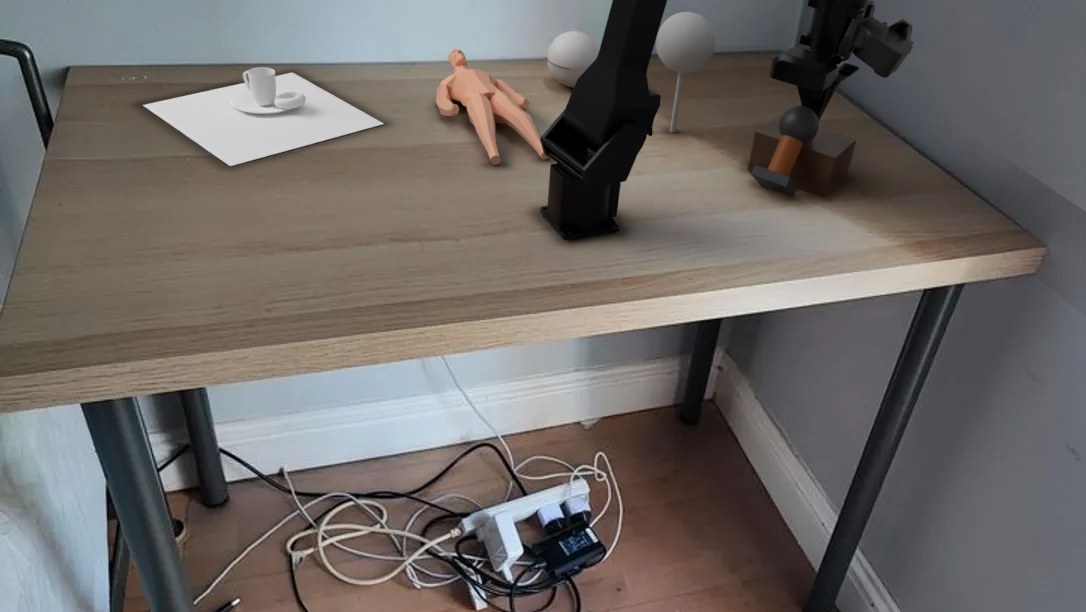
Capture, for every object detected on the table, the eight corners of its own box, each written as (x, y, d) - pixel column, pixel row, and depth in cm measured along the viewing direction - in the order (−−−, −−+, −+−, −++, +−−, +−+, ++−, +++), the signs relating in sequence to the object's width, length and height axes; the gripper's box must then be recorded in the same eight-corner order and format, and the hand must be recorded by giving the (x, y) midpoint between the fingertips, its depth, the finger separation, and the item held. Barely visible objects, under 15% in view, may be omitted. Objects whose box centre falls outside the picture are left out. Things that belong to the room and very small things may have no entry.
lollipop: (700, 124, 124) (719, 8, 115) (699, 146, 118) (720, 26, 109) (646, 117, 124) (661, 0, 115) (643, 139, 118) (658, 18, 109)
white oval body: (535, 78, 131) (538, 25, 127) (581, 73, 135) (586, 21, 130) (569, 105, 125) (574, 51, 120) (617, 99, 128) (624, 46, 124)
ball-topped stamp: (781, 207, 106) (800, 127, 101) (746, 194, 108) (763, 115, 103) (809, 183, 112) (828, 107, 107) (775, 172, 114) (793, 96, 109)
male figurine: (477, 140, 105) (414, 45, 121) (475, 179, 108) (414, 81, 125) (566, 132, 109) (493, 41, 126) (562, 169, 112) (491, 76, 129)
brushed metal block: (824, 197, 110) (835, 157, 107) (747, 170, 114) (755, 131, 111) (846, 177, 115) (856, 139, 112) (771, 152, 118) (779, 114, 116)
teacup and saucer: (316, 110, 116) (313, 77, 113) (257, 124, 111) (252, 91, 108) (277, 87, 120) (274, 55, 118) (218, 100, 115) (213, 67, 113)
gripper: (887, 26, 93) (847, 171, 102) (941, -8, 106) (901, 123, 115) (783, -2, 97) (753, 140, 106) (848, -31, 110) (817, 97, 119)
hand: (811, 125), depth 111 cm, fingers closed
